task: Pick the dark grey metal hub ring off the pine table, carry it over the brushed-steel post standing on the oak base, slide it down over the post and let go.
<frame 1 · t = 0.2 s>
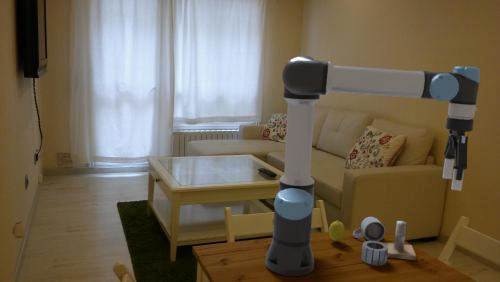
hand: (451, 184, 146), 27 cm above the table, fingers open, 13 cm apart
hub: (373, 260, 152), on the table
shaft stand: (398, 252, 159), on the table
ceramic mug: (367, 238, 171), on the table
lemon: (335, 242, 166), on the table
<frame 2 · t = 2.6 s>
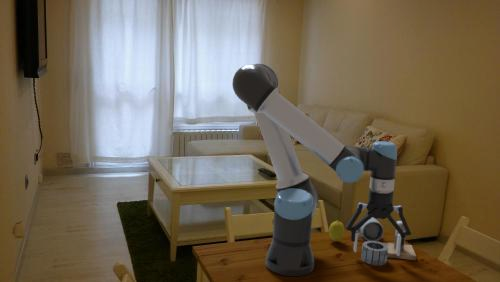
hand: (376, 252, 152), 3 cm above the table, fingers open, 13 cm apart
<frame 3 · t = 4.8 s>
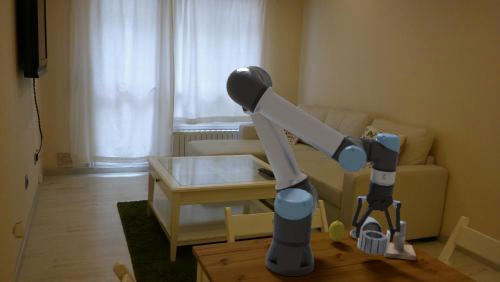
hand: (372, 248, 152), 4 cm above the table, fingers closed on hub, 8 cm apart
hub: (372, 249, 152), point 4 cm above the table, touching gripper
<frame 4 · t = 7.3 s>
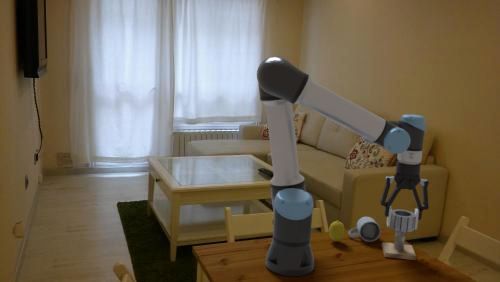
hand: (401, 226, 157), 10 cm above the table, fingers closed on hub, 8 cm apart
hub: (401, 227, 157), point 9 cm above the table, touching gripper
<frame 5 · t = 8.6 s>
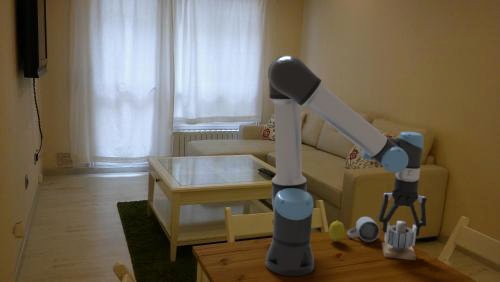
hand: (399, 242, 158), 4 cm above the table, fingers closed on hub, 8 cm apart
hub: (399, 243, 158), point 3 cm above the table, touching gripper
when the fingers open (4 cm above the table, at t = 9.6 s): hub drops 2 cm, resting on shaft stand.
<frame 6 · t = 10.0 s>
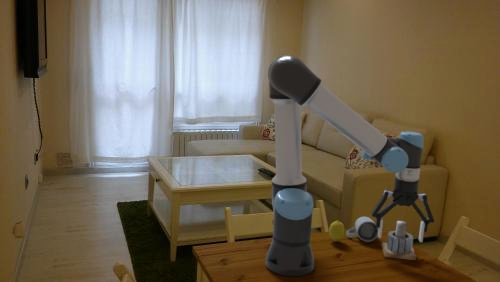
hand: (399, 238, 158), 5 cm above the table, fingers open, 13 cm apart
hub: (399, 248, 158), point 1 cm above the table, touching shaft stand
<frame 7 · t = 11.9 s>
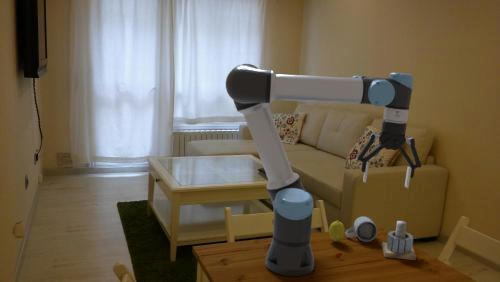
hand: (385, 184, 154), 24 cm above the table, fingers open, 13 cm apart
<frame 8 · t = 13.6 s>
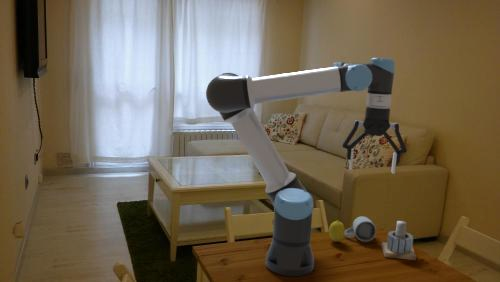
hand: (371, 171, 152), 29 cm above the table, fingers open, 13 cm apart
at the end: hub 0.1 cm off-centre on the shaft stand, point 1.5 cm above the shaft stand's base; the gripper is holding nothing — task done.
